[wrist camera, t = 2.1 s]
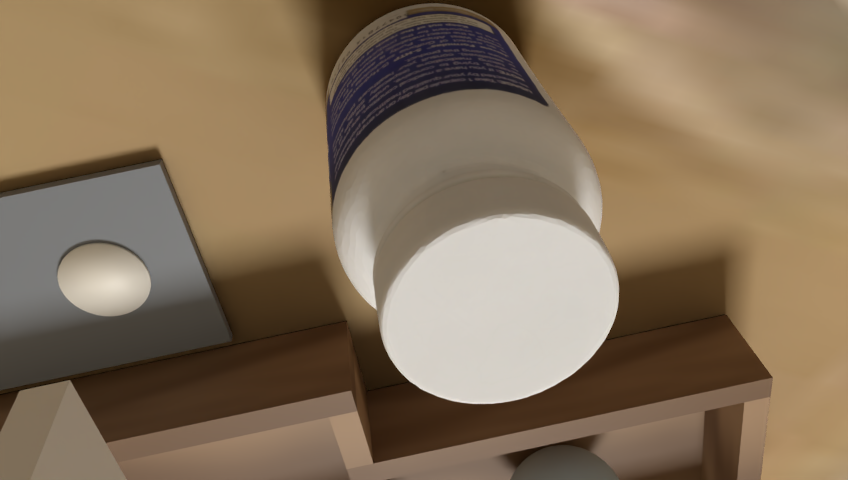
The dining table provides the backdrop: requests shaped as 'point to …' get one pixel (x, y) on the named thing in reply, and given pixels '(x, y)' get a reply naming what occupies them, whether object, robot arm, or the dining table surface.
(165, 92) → the dining table surface
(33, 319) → the card
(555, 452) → the ball
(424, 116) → the pill bottle
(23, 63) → the dining table surface
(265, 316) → the dining table surface
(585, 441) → the cradle
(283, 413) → the cradle
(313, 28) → the dining table surface
